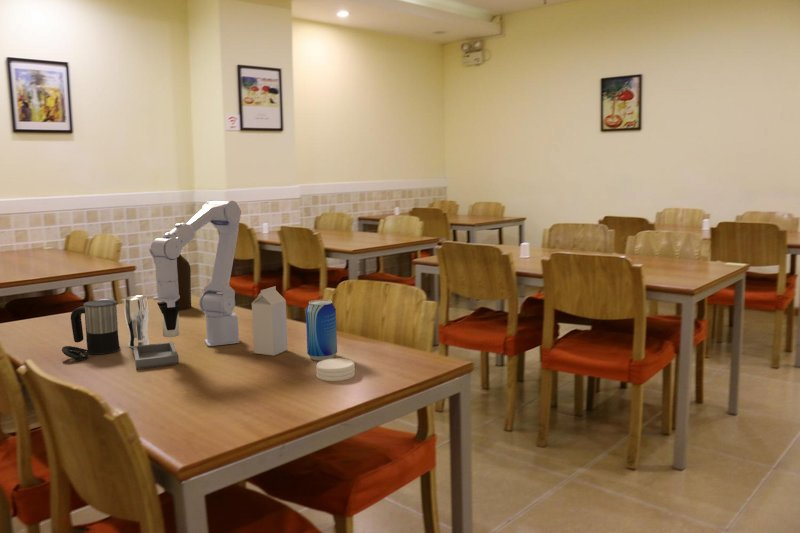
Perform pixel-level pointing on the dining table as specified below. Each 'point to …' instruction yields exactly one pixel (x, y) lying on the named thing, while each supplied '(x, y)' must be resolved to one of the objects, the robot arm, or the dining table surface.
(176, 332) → the salt shaker
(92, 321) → the milk frother
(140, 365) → the tray
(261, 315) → the milk carton
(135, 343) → the beer glass
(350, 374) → the white round container
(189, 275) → the olive oil
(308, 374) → the dining table surface
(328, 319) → the beer can
